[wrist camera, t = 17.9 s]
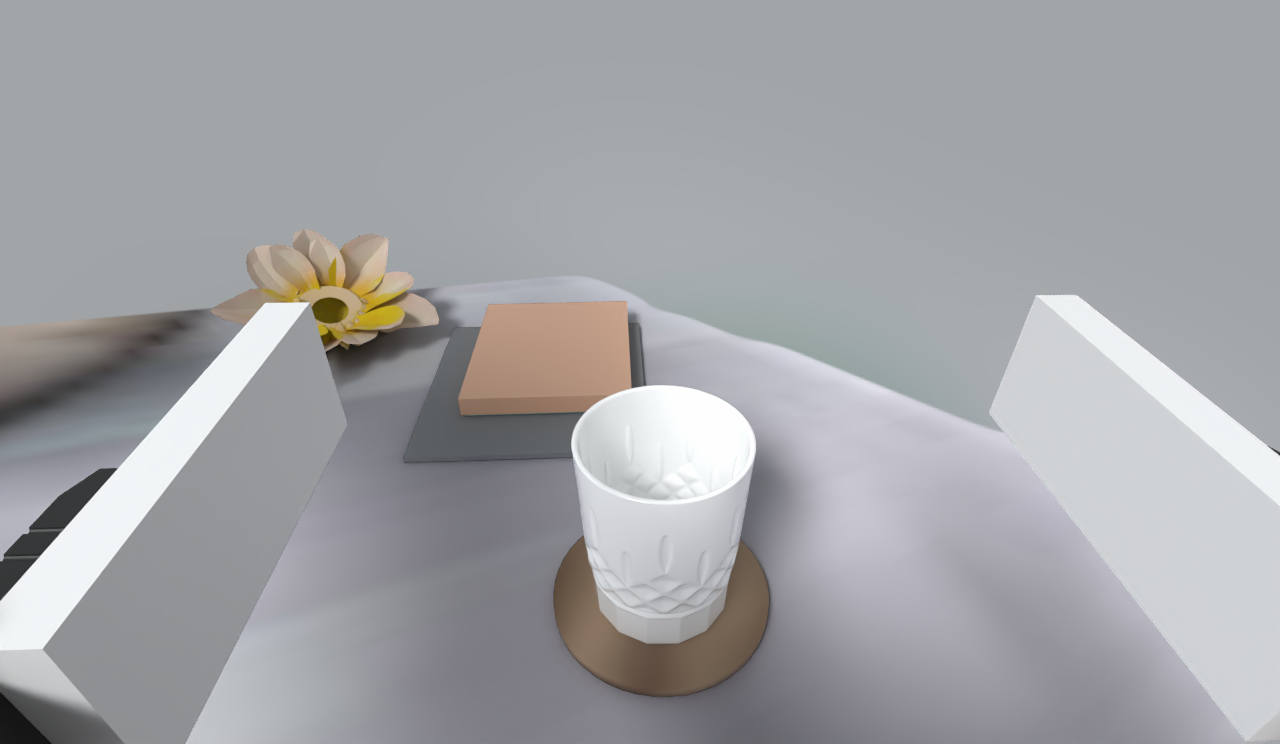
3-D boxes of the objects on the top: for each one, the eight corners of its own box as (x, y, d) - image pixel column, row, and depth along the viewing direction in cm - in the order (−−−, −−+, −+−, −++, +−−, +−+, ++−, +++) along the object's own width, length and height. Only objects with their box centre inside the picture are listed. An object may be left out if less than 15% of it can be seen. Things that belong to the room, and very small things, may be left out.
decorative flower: (250, 404, 45) (203, 260, 42) (225, 369, 53) (184, 248, 50) (454, 345, 53) (428, 222, 50) (404, 324, 62) (379, 217, 58)
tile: (457, 399, 45) (488, 304, 57) (461, 417, 46) (490, 320, 57) (631, 394, 45) (626, 301, 57) (632, 412, 46) (627, 317, 58)
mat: (404, 462, 43) (403, 457, 42) (454, 331, 57) (454, 327, 56) (649, 454, 43) (649, 450, 43) (638, 327, 57) (638, 323, 57)
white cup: (757, 558, 35) (778, 409, 30) (705, 685, 29) (719, 529, 24) (626, 512, 38) (622, 369, 32) (554, 619, 32) (535, 467, 26)
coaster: (546, 702, 29) (545, 694, 29) (560, 519, 38) (560, 512, 38) (790, 691, 30) (791, 684, 29) (747, 513, 39) (747, 505, 38)
